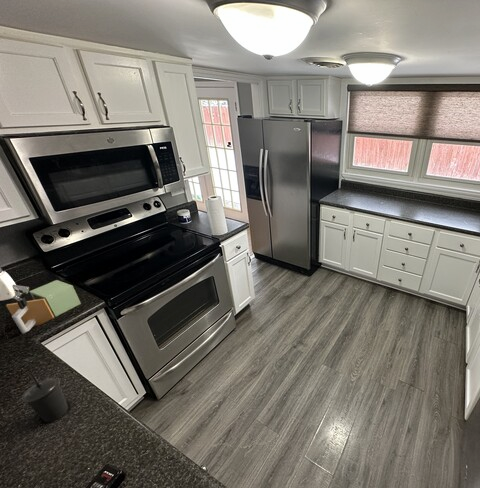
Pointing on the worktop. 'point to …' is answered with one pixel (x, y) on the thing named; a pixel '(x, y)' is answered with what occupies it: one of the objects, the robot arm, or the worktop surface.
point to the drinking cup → (46, 398)
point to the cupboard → (57, 296)
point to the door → (30, 314)
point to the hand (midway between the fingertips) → (7, 310)
